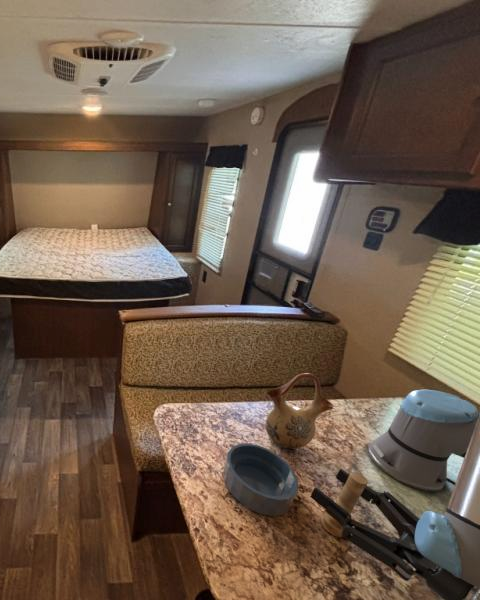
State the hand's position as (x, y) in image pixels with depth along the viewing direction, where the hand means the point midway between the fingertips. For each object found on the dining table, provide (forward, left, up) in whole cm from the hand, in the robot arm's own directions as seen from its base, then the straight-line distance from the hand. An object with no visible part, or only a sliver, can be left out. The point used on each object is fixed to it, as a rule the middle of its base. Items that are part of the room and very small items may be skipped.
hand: (326, 482), depth 72 cm
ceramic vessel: (+5, -20, -10) cm, 23 cm away
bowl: (+12, 0, -10) cm, 16 cm away
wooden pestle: (-4, +2, -10) cm, 10 cm away
